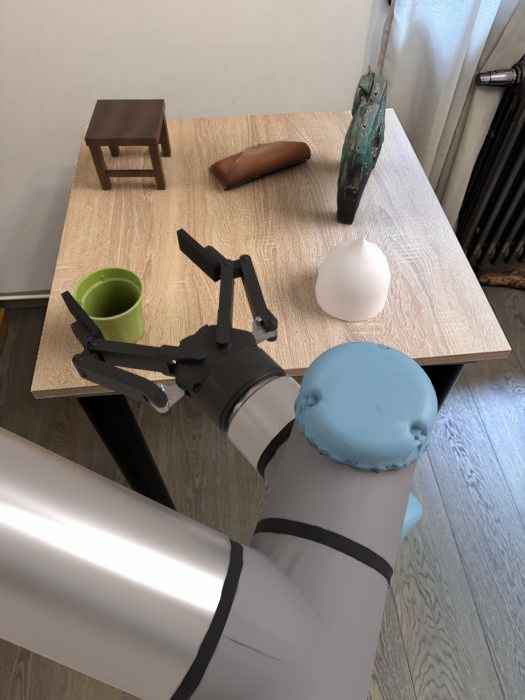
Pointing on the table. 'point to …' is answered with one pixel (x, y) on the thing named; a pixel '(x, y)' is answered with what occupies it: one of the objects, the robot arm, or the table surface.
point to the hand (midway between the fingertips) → (127, 268)
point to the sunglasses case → (259, 161)
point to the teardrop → (353, 281)
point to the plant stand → (128, 136)
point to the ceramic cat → (361, 144)
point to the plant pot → (113, 302)
